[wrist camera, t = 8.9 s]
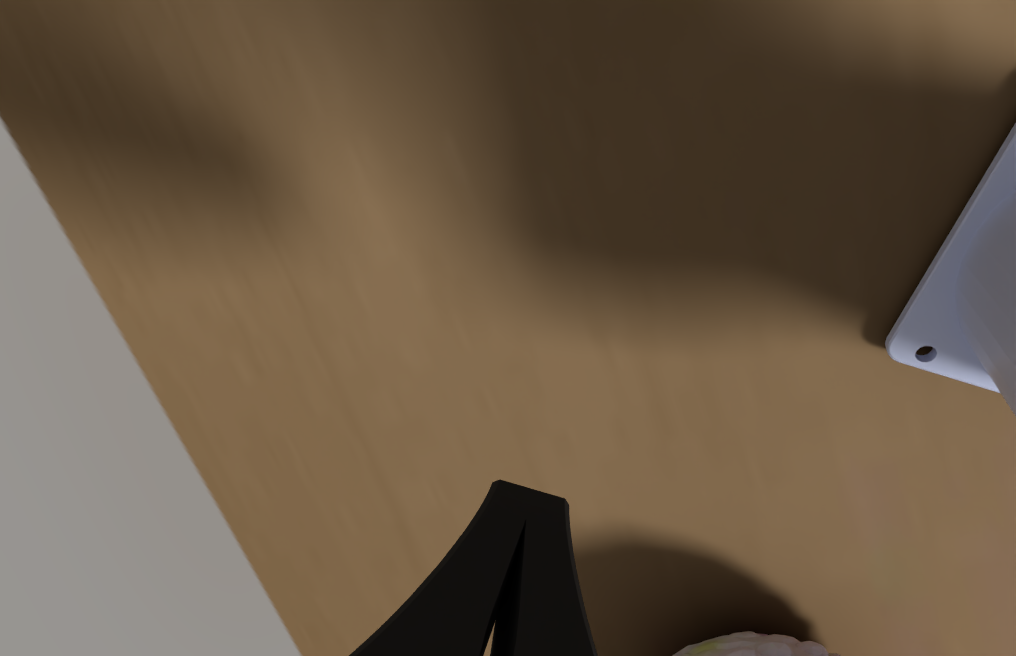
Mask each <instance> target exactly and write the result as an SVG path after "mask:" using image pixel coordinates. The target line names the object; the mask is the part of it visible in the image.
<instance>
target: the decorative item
mask: <svg viewBox="0 0 1016 656" xmlns="http://www.w3.org/2000/svg"><path fill="white" fill-rule="evenodd" d="M672 656H840V655H838V654H834V653H828V652H827V650H826V649H825V648H824V647H823V646H822V645H821V644H819V643H816V642H813V641H804V642H800V641H798V640H797V639H795V638H794V637H790V636H786V635H778V634H773V635H767V634H759V633H758V634H756V633H754V632H752V631H746V632H738V633H732V634H730V635H724V636H720V637H716V638H713V639H709V640H705V641H703V642H701V643H697V644H693V645H689V646H686V647H685V648H683V649H682V650H680V651H678V652H677V653H676V654H674V655H672Z"/></svg>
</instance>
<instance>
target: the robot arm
mask: <svg viewBox="0 0 1016 656" xmlns="http://www.w3.org/2000/svg"><path fill="white" fill-rule="evenodd" d="M885 346H886V350H887V352H888V354H889V356H890V357H891V358H892V359H893V360H895V361H897V362H900V363H903V364H906V365H910V366H913V367H916V368H920V369H923V370H926V371H929V372H933V373H936V374H939V375H942V376H946V377H949V378H952V379H956V380H959V381H962V382H965V383H969V384H972V385H975V386H979V387H982V388H985V389H988V390H992V391H995V392H998V393H1001V394H1002V396H1003V397H1004V399H1005V400H1006V402H1007V404H1008V405H1009V407H1010V408H1011V410H1012V411H1013V413H1014V414H1015V416H1016V123H1015V124H1014V126H1013V128H1012V129H1011V131H1010V133H1009V134H1008V136H1007V138H1006V139H1005V141H1004V143H1003V144H1002V146H1001V148H1000V149H999V151H998V153H997V154H996V156H995V158H994V159H993V161H992V163H991V164H990V166H989V168H988V169H987V171H986V173H985V174H984V176H983V178H982V179H981V181H980V183H979V184H978V186H977V188H976V189H975V191H974V193H973V194H972V196H971V198H970V199H969V201H968V203H967V204H966V206H965V208H964V209H963V211H962V213H961V214H960V216H959V218H958V219H957V221H956V223H955V224H954V226H953V228H952V229H951V231H950V233H949V234H948V236H947V238H946V239H945V241H944V243H943V244H942V246H941V248H940V249H939V251H938V253H937V254H936V256H935V258H934V259H933V261H932V263H931V264H930V266H929V268H928V269H927V271H926V273H925V274H924V276H923V278H922V279H921V281H920V283H919V284H918V286H917V288H916V289H915V291H914V293H913V294H912V296H911V298H910V299H909V301H908V303H907V304H906V306H905V308H904V309H903V311H902V313H901V314H900V316H899V318H898V319H897V321H896V323H895V325H894V326H893V328H892V330H891V331H890V333H889V335H888V336H887V338H886V341H885ZM923 346H931V347H933V349H932V351H931V352H930V353H928V354H925V355H917V354H915V353H916V351H917V350H918V349H919V348H920V347H923ZM495 620H496V621H495ZM494 623H495V628H494V634H493V641H492V647H491V654H490V656H597V652H596V649H595V645H594V642H593V638H592V635H591V631H590V627H589V623H588V620H587V616H586V612H585V607H584V603H583V599H582V594H581V590H580V585H579V581H578V576H577V571H576V565H575V559H574V553H573V547H572V539H571V531H570V519H569V504H568V503H567V501H566V499H565V498H561V497H558V496H554V495H551V494H547V493H544V492H541V491H537V490H534V489H530V488H527V487H523V486H520V485H517V484H513V483H510V482H506V481H503V480H498V481H495V482H493V483H492V485H491V487H490V490H489V492H488V494H487V496H486V498H485V500H484V501H483V503H482V505H481V507H480V508H479V510H478V511H477V513H476V515H475V516H474V518H473V519H472V521H471V522H470V524H469V525H468V526H467V528H466V529H465V531H464V532H463V534H462V535H461V536H460V537H459V539H458V540H457V541H456V543H455V544H454V545H453V547H452V548H451V549H450V551H449V552H448V553H447V554H446V556H445V557H444V558H443V560H442V561H441V562H440V563H439V564H438V566H437V567H436V568H435V569H434V570H433V571H432V572H431V574H430V575H429V576H428V577H427V578H426V579H425V580H424V582H423V583H422V584H421V585H420V586H419V587H418V588H417V590H416V591H415V592H414V593H413V594H412V595H411V596H410V597H409V598H408V599H407V601H406V602H405V603H404V604H403V605H402V606H401V607H400V608H399V609H398V610H397V611H396V612H395V613H394V614H393V615H392V616H391V617H390V618H389V619H388V620H387V621H386V622H385V623H384V624H383V625H382V626H381V627H380V628H379V629H378V630H377V631H376V632H375V633H374V634H372V635H371V636H370V637H369V638H368V639H367V640H366V641H365V642H364V643H363V644H362V645H360V646H359V647H358V648H357V649H356V650H355V651H354V652H353V653H351V654H350V655H349V656H483V655H484V652H485V649H486V646H487V643H488V640H489V637H490V634H491V631H492V629H493V626H494Z"/></svg>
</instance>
